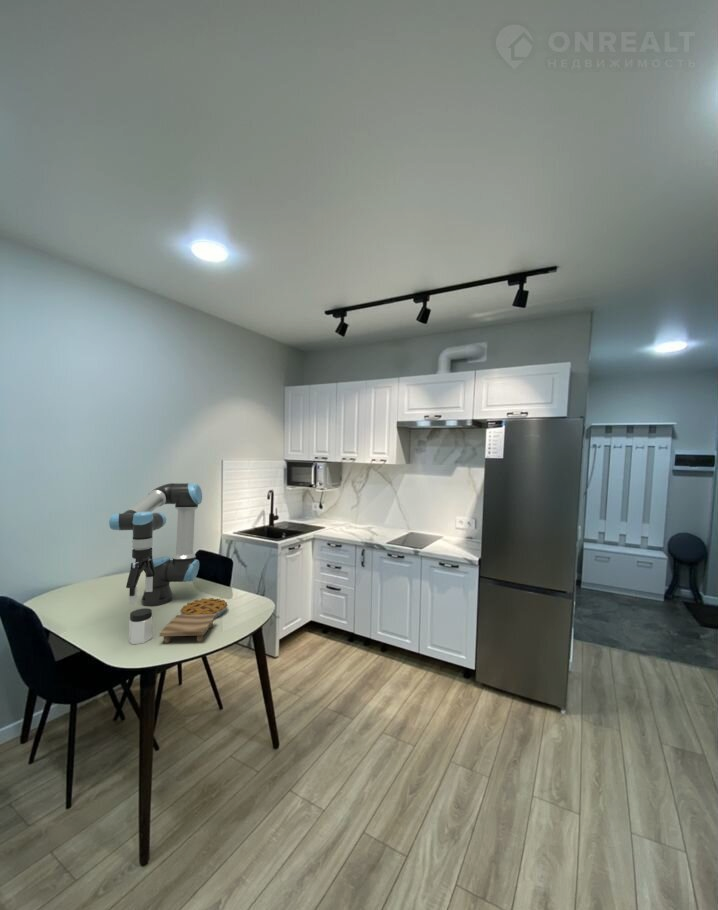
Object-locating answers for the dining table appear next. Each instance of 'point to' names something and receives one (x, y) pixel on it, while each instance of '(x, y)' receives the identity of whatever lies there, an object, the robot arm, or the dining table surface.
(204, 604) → the pie
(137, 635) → the jar
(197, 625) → the wooden serving stand
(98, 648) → the dining table surface
